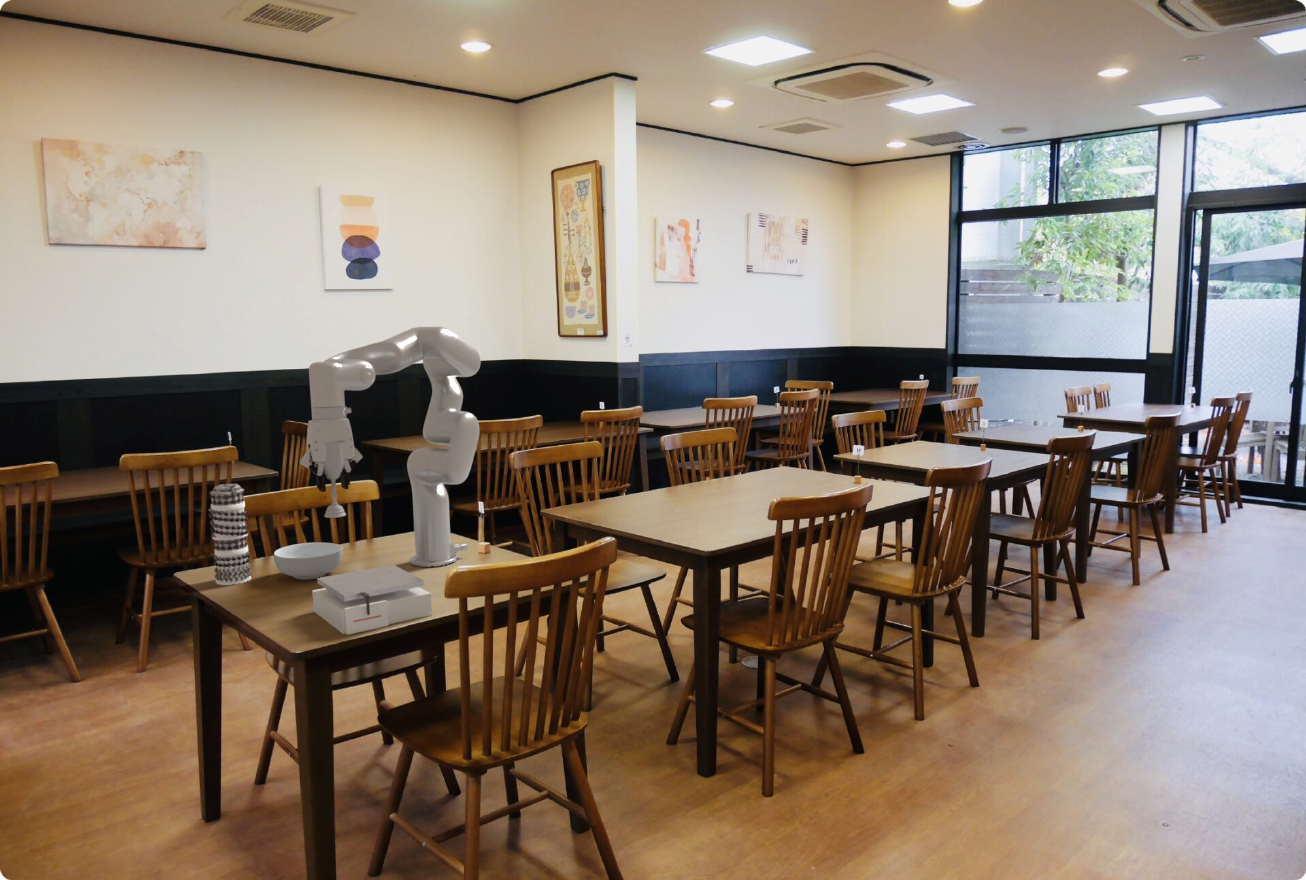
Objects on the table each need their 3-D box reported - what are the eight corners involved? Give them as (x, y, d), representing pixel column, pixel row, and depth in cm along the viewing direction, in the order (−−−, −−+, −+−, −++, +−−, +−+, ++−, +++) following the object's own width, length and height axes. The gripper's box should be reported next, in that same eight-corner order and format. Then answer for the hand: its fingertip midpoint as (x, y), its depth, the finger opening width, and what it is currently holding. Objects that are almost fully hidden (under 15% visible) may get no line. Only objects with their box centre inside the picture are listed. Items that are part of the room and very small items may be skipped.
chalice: (357, 513, 224) (352, 439, 222) (338, 519, 218) (334, 443, 215) (331, 511, 226) (327, 438, 224) (313, 517, 220) (308, 442, 218)
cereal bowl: (298, 588, 231) (296, 560, 230) (262, 578, 241) (260, 551, 240) (357, 573, 244) (355, 547, 244) (320, 564, 254) (318, 538, 254)
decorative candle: (207, 581, 238) (200, 485, 235) (243, 573, 245) (236, 480, 242) (223, 587, 232) (215, 489, 229) (259, 579, 239) (252, 484, 236)
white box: (394, 588, 222) (393, 564, 222) (430, 609, 206) (429, 583, 205) (318, 603, 212) (317, 578, 211) (350, 626, 195) (348, 599, 194)
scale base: (397, 594, 224) (396, 572, 223) (433, 616, 207) (432, 591, 207) (313, 611, 212) (312, 587, 211) (345, 635, 195) (343, 609, 195)
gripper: (358, 410, 227) (363, 483, 229) (287, 415, 217) (292, 492, 219) (369, 412, 221) (374, 487, 223) (296, 418, 211) (302, 496, 213)
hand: (333, 489), depth 221 cm, fingers closed on chalice, 4 cm apart
